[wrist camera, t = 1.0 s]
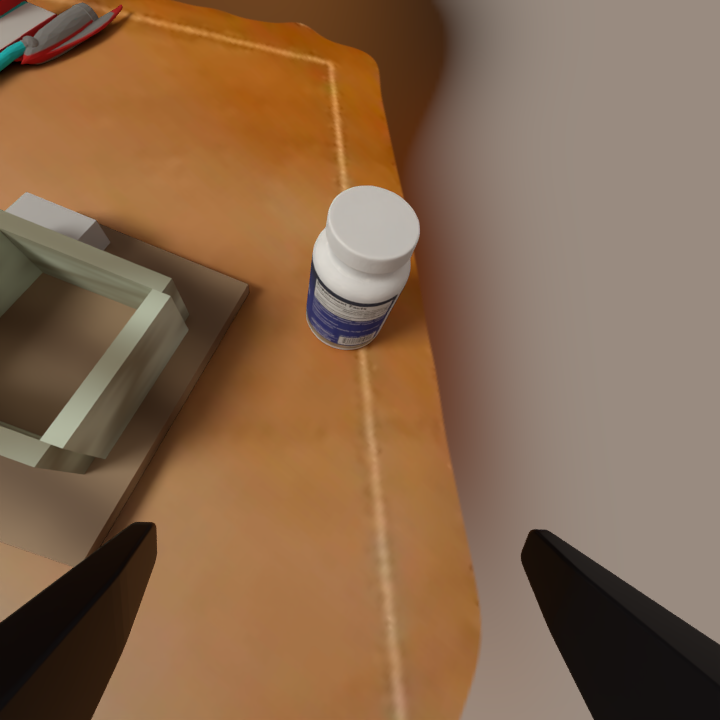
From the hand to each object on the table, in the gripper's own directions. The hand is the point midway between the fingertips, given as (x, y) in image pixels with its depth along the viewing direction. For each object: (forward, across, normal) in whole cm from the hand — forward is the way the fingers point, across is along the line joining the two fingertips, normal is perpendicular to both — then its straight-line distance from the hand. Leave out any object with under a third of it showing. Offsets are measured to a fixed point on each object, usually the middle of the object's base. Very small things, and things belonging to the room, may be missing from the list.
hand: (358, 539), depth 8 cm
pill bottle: (+19, -1, -1) cm, 19 cm away
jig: (+16, +15, +3) cm, 22 cm away
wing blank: (+20, +18, -4) cm, 27 cm away
